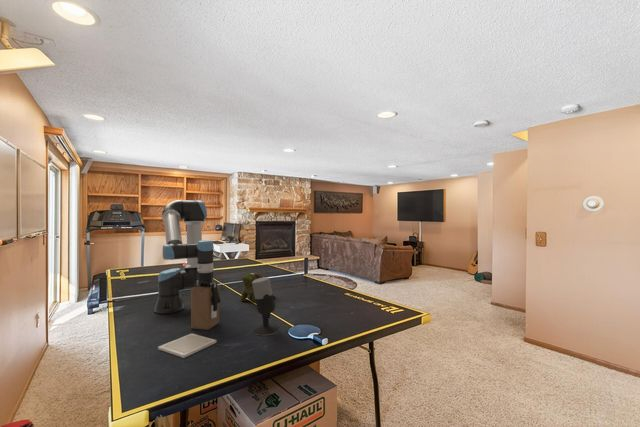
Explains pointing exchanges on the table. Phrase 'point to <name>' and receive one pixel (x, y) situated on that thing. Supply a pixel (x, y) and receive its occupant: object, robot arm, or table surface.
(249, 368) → the table surface
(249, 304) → the table surface
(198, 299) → the wooden block
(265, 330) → the microphone
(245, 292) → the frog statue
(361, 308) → the table surface
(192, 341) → the tile
